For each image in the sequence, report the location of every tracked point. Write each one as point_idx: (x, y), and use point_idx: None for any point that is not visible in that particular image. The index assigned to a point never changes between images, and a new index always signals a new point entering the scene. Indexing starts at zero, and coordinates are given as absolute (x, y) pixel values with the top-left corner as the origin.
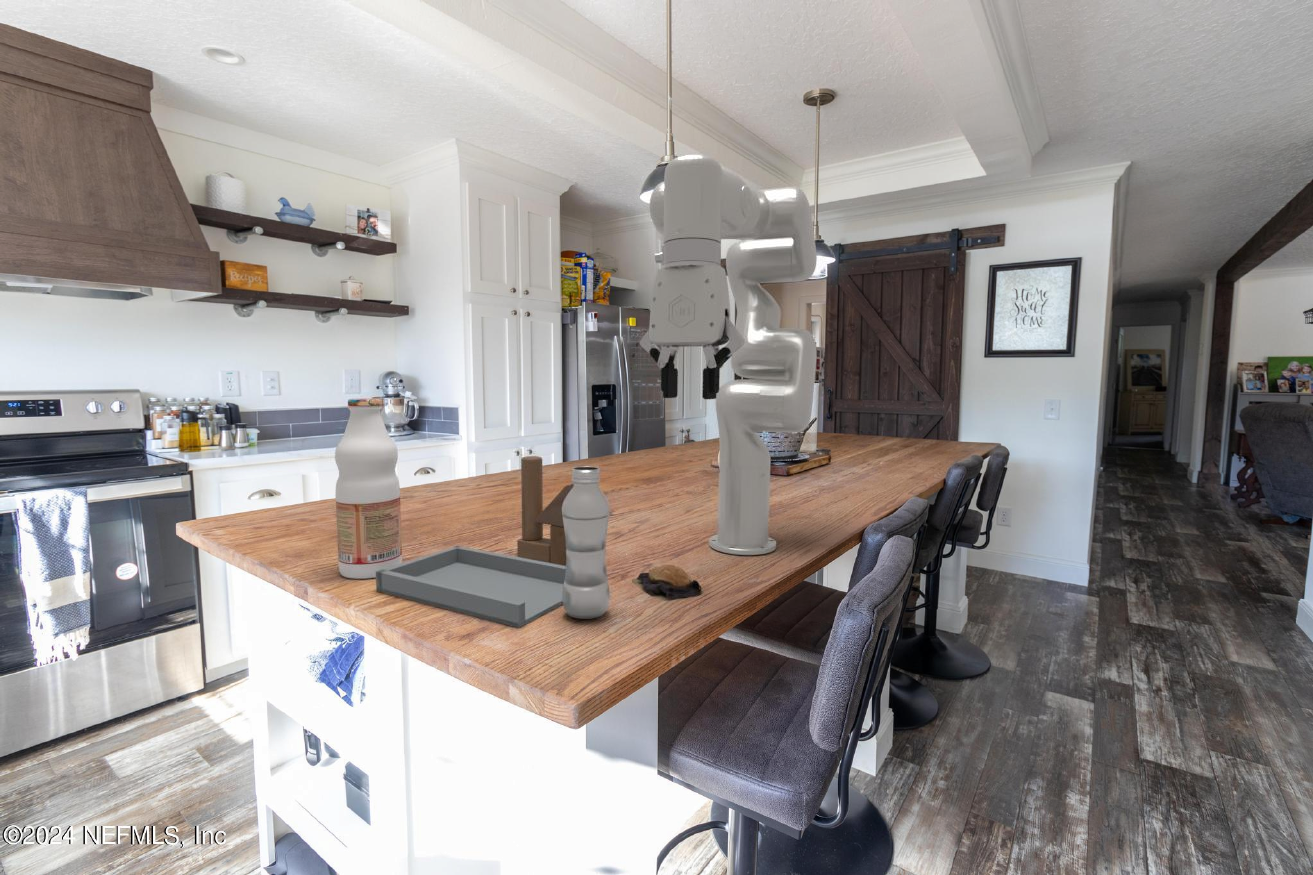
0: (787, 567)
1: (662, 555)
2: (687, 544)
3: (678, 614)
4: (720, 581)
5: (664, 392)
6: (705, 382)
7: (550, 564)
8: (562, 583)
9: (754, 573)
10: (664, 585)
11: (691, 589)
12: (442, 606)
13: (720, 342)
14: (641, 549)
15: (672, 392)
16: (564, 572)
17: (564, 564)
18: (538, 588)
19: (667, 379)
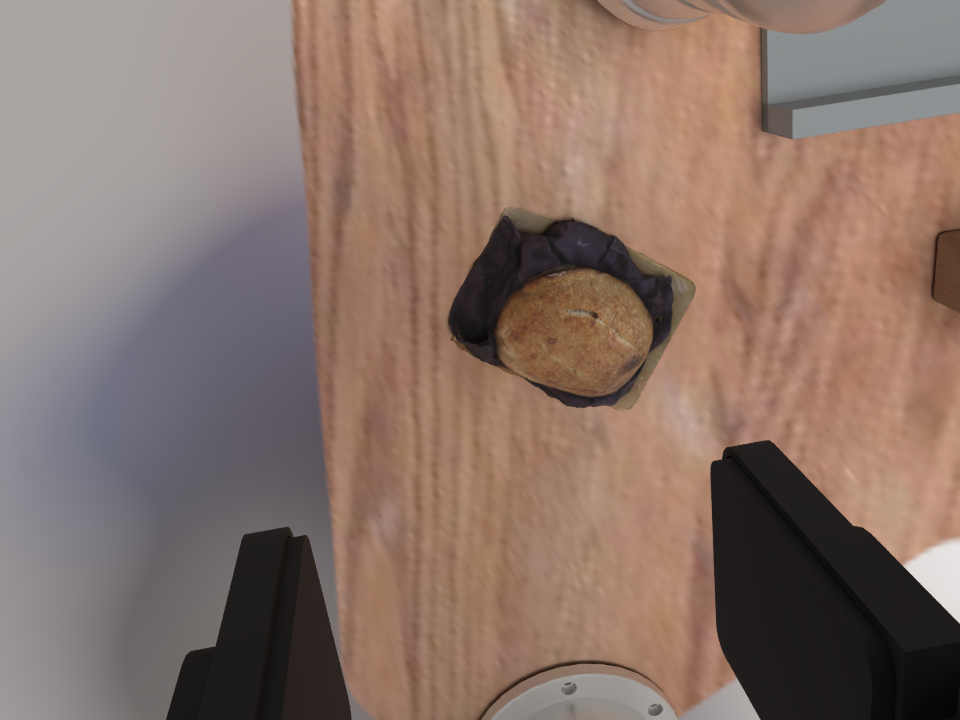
0: (363, 672)
1: None
2: None
3: (411, 141)
4: (462, 452)
5: (767, 461)
6: (242, 635)
7: (949, 102)
8: (857, 90)
9: (416, 571)
10: (548, 261)
11: (482, 320)
12: None
13: None
14: None
15: (731, 573)
16: (871, 95)
17: (955, 234)
18: (900, 2)
19: (808, 564)
